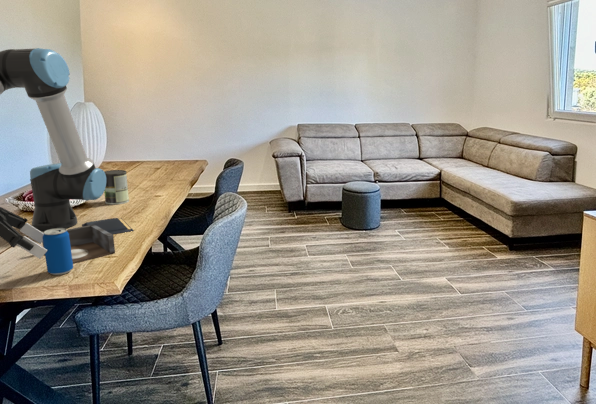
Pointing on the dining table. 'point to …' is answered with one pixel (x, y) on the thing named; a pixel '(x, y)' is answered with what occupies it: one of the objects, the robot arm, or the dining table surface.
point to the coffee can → (116, 187)
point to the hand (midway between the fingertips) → (44, 246)
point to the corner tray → (90, 243)
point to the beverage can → (58, 251)
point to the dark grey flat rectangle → (111, 225)
